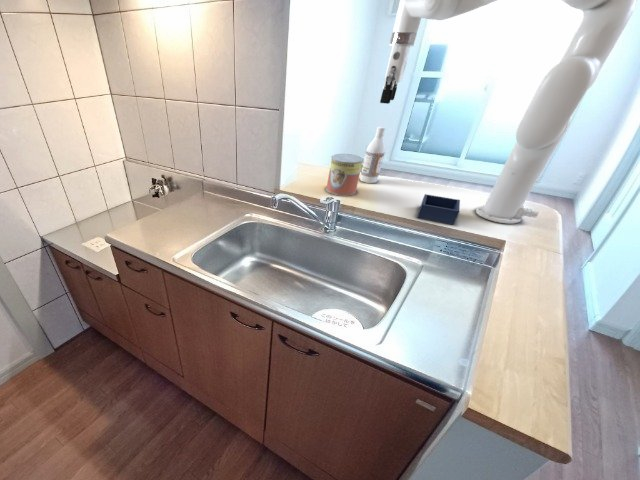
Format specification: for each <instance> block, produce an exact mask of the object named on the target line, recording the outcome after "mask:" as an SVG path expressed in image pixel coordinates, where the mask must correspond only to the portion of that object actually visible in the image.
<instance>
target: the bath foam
mask: <svg viewBox="0 0 640 480" xmlns="http://www.w3.org/2000/svg"><path fill="white" fill-rule="evenodd" d="M385 131H386V127H385V126H377V128H376V132H375V136H374V138H373V139H372V140H371V141H370V143H369V144H368V146H367V148H366V151H365V155H364V158H363V162H362V166H361V171H360V175H359V180H360V182H362V183H366V184H375V183H377V182H378V180H379V176H380V172H381V169H382V165H383V161H384V157H385V154H386V143H385V140H384V136H385Z"/></svg>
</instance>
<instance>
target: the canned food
mask: <svg viewBox="0 0 640 480" xmlns="http://www.w3.org/2000/svg"><path fill="white" fill-rule="evenodd" d="M363 163H364V158H363V157H362V156H361V155H357V154H353V153H352V154H351V153H336V154H333V155H331V159H330V165H329V171H328V177H327V184H326V188H325V190H326V192H327V193H329V194H331V195H334V196H341V197H347V196H353V195H355V194H356V193H357V187H358V183H359V180H360V176H361V172H362V167H363Z"/></svg>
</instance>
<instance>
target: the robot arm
mask: <svg viewBox="0 0 640 480" xmlns="http://www.w3.org/2000/svg"><path fill="white" fill-rule="evenodd" d="M562 1H563V2H564V3H565V4H566V5H567V6H570V7H571V8H574V9H576V10H581V11H582V12H583V17H582V21H581V22H580V25H579V27H578V28H577V30H576V32H575V34H574V35H573V37H572V39H571V41H570V43H569V46H568V47H567V49H566V51H565V52H564V54H563V56H562V58H561V59H560V61H559V62H558V63H557V64H556V65H555V66H553V67H552V68H551V69H549V71H548V72H547V73H546V75H545V76H544V77H543V79H542V81H541V82H540V84H539V86H538V87H537V89H536V92H535V93H534V96H532V99H531V101H530V103H529V105H528V107H527V109H526V111H525V112H524V114H523V116H522V118H521V120H520V122H519V124H518V126H517V128H516V132H515V140H516V141H515V144H514V146H513V148H512V149H511V151H510V153H509V156H508V157H507V159H506V161H505V163H504V165H503V167H502V169H501V170H500V171H501V172H500V173H499V175H498V177H497V178H496V181H495V182H494V183H495V184H494V185H493V187H492V189H491V191H490V194H489V196H488V198H487V199H486V201H485V203H484V205H480V206H477V208H476V210H475V213H476V214H477V216H479V217H481V218H483V219H486V220H488V221H490V222H491V221H492V222H494V223H498V224H499V223H500V224H517V223H519V222H521V221H522V218H523V217H525V216H526V217H529V218H537V217H538V215H539V212H540V211H538V210H537V211H536V210H533V208H528V207H524V204H525V202H526V201H527V199H528V197H529V195H530V193H531V192H532V190H533V189H534V187H535V185H536V183H537V182H538V179H539V178H540V176H541V174H542V173H543V171H544V169H545V168H546V166H547V164H548V162H549V161H550V159H551V157H552V156H553V154H554V153H555V151H556V149H557V147H558V146H559V144H560V142H561V141H562V139H563V137H564V136H565V135H566V132H567V131H568V128H569V126H570V124H571V117H572V116H573V114H574V113H575V111H576V109H577V108H578V107H579V105H580V103H581V101H582V100H583V98H584V96H585V95H586V94H587V92H588V90H589V89H590V88H592V86H593V85H594V83H595V82H596V80H597V78H598V75H599V73H600V71H601V69H602V68H603V66H604V65H605V63H606V61H607V59H608V57H609V56H610V54H611V52H612V51H613V49H614V48H615V46H616V44H617V42H618V40H619V38H620V37H621V35H622V33H623V32H624V30H625V28H626V27H627V25H628V23H629V21H630V19H631V17H632V16H633V13H634V10H635V8H636V5H637V2H638V0H562ZM495 2H497V0H399V2H398V6H397V7H398V8H397V11H396V15H395V20H394V24H393V28H392V32H391V36H390V40H389V44H388V45H389V47H391V50H390V54H389V58H388V62H387V67H386V70H385V76H384V82H385V83H384V86H383V89H382V91H381V96H380V100H379V103H380V104H390V103H391V101H394V100H395V96H396V93H397V89H398V84H399V83H400V82H402V81H403V79H404V74H405V71H406V66H407V62H408V58H409V54H410V49H411V47H415V42H416V38H417V35H418V31H419V27H420V23H421V20H422V19H425V20H433V21H434V20H435V21H444V20H447V19H451V18H453V17H457V16H461V15H462V14H463V15H464V14H466V13H469V12H471V11H474V10H476V9H479V8H482V7H484V6H488V5H489V4H491V3H495Z"/></svg>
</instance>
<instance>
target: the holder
mask: <svg viewBox="0 0 640 480" xmlns="http://www.w3.org/2000/svg"><path fill="white" fill-rule="evenodd" d="M460 204H461V200H460V199H457V198H450V197H444V196H438V195H432V194H427V193H425V194H424V195H423V198H422V201H421V203H420V206H419V210H418V214H417V217H416V218H417V219H420V220H427V221H432V222H435V223H437V222H438V223H441V224H448V225H453V226H454V224H455V222H456V220H457V218H458V216H459V214H460V206H461V205H460Z"/></svg>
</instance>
